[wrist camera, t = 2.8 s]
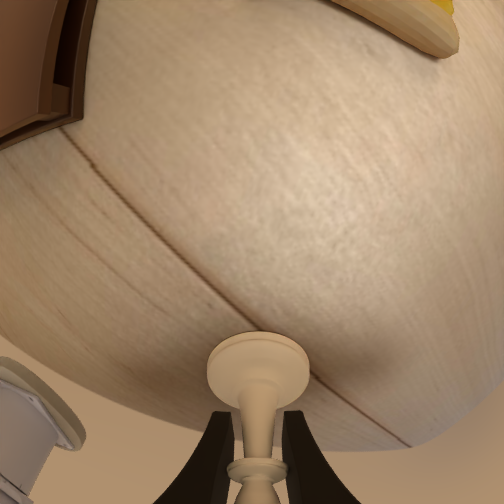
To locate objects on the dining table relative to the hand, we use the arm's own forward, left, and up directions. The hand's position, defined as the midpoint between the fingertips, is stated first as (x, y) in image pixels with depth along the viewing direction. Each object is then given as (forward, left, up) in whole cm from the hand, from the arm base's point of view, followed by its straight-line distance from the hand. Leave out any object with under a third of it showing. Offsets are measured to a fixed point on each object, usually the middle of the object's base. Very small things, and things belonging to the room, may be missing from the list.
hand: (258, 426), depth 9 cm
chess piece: (0, 0, -4) cm, 4 cm away
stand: (-13, +32, -3) cm, 35 cm away
